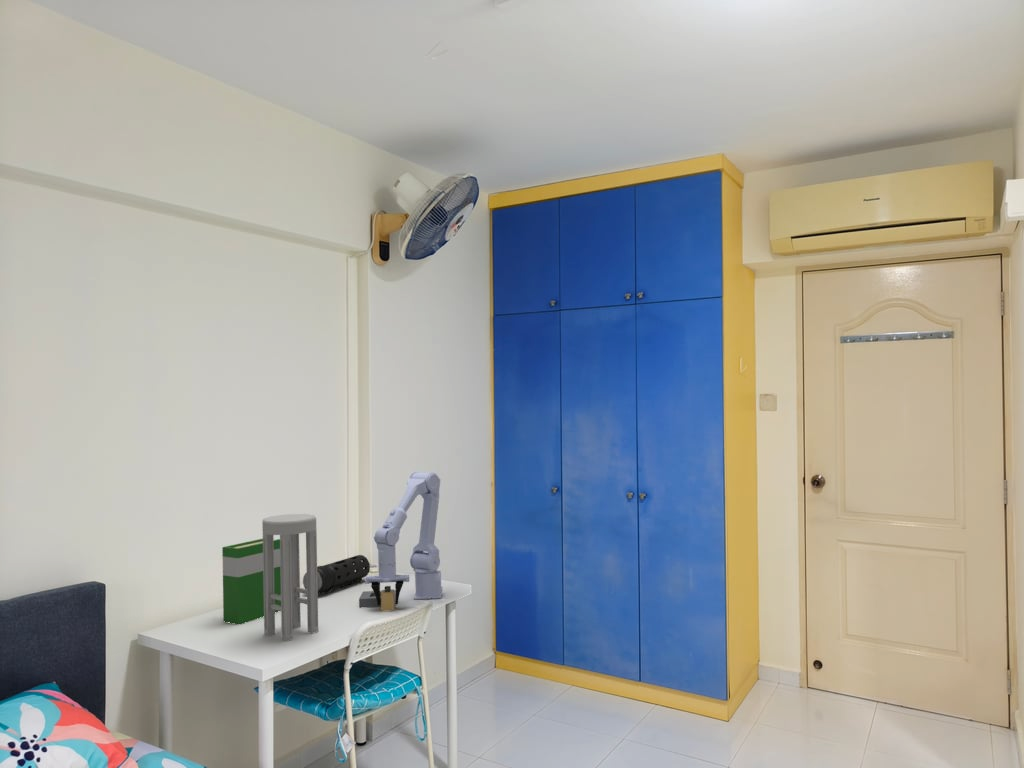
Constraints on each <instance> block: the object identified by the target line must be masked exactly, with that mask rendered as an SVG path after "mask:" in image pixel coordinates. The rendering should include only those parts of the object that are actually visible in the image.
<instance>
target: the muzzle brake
mask: <svg viewBox="0 0 1024 768" xmlns="http://www.w3.org/2000/svg"><path fill="white" fill-rule="evenodd" d="M370 570H371V566H370V562H369V560H368V558H367V557H366V556H364V555H362V554H358V555H353V556H351V557H347V558H343V559H341V560H337V561H333V562H331V563H327V564H323V565H317V584H318V595H319V594H326V593H325V592H328V591H330V592H332V589H333V590H334V589H337V588H343V587H344V586H348V584H349V585H351V583H352V584H354V582H355V583H358V582H360V581H362V579H363V578H364V579H365V578H366V577H368V575H369V573H370ZM359 580H360V581H359ZM357 581H358V582H357ZM302 584H303V589H307V571H306V572H305V573H304V575H303V578H302ZM342 586H343V587H342ZM322 592H323V593H322ZM328 593H329V592H328Z"/></svg>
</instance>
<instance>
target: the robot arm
mask: <svg viewBox="0 0 1024 768" xmlns="http://www.w3.org/2000/svg"><path fill="white" fill-rule="evenodd" d="M406 484H407V488H406V489H405V491H404V493H403V496H402V497H401V500H400V502H399V503H398V505H397V507H395V508H392V509H391V510H390V511H389V515H388V517H387V518H386V519H385V521H384V523H383V524H382V526H381V527H380V528H378V529H377V530H376V531H375V533H374V536H373V539H374V542H375V543H376V549H377V552H378V555H377V556H378V557H377V560H378V575H372V576H366V577H364V579H365V580H364V581H365V585H368V584H371V585H370V587H371V589H372V591H374V593H375V596H376V599H377V603H378V605H380V604H381V600H380V591H381V584H383V583H395V584H394V587H395V588H394V590H396V601H395V603H396V604H395V605H399V598H400V593H401V590H402V587H403V585H404V583H405V582H406V583H410V574H397V566H396V565H397V562H396V561H397V560H396V557H397V556H396V544H397V543H398V542H399V540H400V533H401V529H402V528H403V525H404V524H405V522H406V521H407V518H408V515H407V512H408V511H409V509H410V508H411V506H412V505H413V503H414V501H415V500H416V499H417V497H418V496H421V498H423V503H422V512H421V522H420V529H419V537H418V539H419V540H418V543H417V544H416V545H415V546H413V548H412V553H411V555H410V559H409V564H410V566H411V568H412V569H413V572H414V582H415V586H414V587H415V593H414V596H413V599H414V600H429V599H430V600H431V598H432V599H441V598H442V593H443V586H442V571H441V570H438V569H439V566H440V564H441V558H440V550H439V547H437V546H436V545H435V538H436V530H437V529H436V528H437V520H438V514H439V513H438V510H439V503H440V487H441V479H440V476H438V474H437V473H435V472H419V471H413V472H412V473H411V474H410V475H409V478H408V479H407V481H406Z"/></svg>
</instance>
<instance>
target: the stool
mask: <svg viewBox="0 0 1024 768" xmlns="http://www.w3.org/2000/svg"><path fill="white" fill-rule="evenodd" d="M261 526H262V539H263V583H264V617H263V624H264V625H263V628H264V629H263V630H264V634H265V636H267V635H268V636H269V635H270V636H273V635H276V613H275V610H279V611H280V612H281V613H280V616H281V617H280V618H281V619H280V620H281V621H280V622H281V624H280V625H281V641H283V640H284V641H283V642H289V641H292V640H291V639H294V636H293V635H294V634H293V631H294V630H293V629H297V628H300V626H301V625H302V624H301V623H302V621H301V604H302V605H303V604H304V605H306V607H307V608H306V609H307V610H306V611H307V612H306V613H307V614H306V615H307V633H308V632H311V633H310V634H314V633H313V632H316V631H318V632H319V597H318V596H319V594H318V584H317V567H318V541H317V540H318V538H317V517H316V516H315V515H314V514H311V513H310V514H307V513H289V514H288V513H287V514H278V515H273V516H269V517H265V518H263V519H262V525H261ZM300 534H305V551H306V552H305V555H306V556H305V557H306V558H305V560H306V572H307V589H305V588H304V587H301V577H300V576H301V575H300V574H301V573H300V565H301V564H300ZM274 536H279V539H280V571H281V595H277V594H274V540H275V538H274ZM301 594H304V595H306V598H304V597H301ZM275 599H276V600H280V601H281V606H280V605H276V604H275ZM316 633H317V632H316ZM272 634H273V635H272ZM268 636H267V637H268ZM270 636H269V637H270ZM288 640H289V641H288Z"/></svg>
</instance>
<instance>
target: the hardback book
mask: <svg viewBox="0 0 1024 768" xmlns="http://www.w3.org/2000/svg"><path fill="white" fill-rule="evenodd" d="M221 556H222V601H223V602H222V603H223V606H222V608H223V609H222V610H223V614H222V615H223V622H224V621H225V622H224V623H226V622H230V623H229V624H232V623H235V624H234V625H237V624H240V625H242V623H243V624H246V623H249V622H252V621H255V620H257V618H258V619H261V618H264V617H263V616H264V583H263V538H259V539H254V540H250V541H245V542H240V543H236V544H231V545H227V546H226V545H225V546H222V555H221ZM274 594H277V595H281V571H280V538H278V539H274ZM275 604H276V605H280V606H281V601H280V600H276V599H275ZM278 611H279V610H275V612H276V613H279V612H278ZM260 617H261V618H260ZM245 622H246V623H245Z"/></svg>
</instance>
